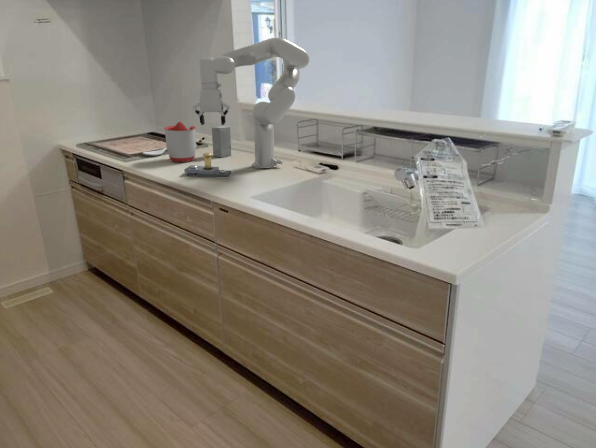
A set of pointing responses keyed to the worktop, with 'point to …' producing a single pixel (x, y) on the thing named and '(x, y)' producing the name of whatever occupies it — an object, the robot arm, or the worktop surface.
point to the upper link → (199, 170)
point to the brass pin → (207, 160)
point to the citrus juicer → (180, 142)
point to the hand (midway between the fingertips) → (213, 124)
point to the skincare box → (221, 141)
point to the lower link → (216, 174)
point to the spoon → (155, 152)
